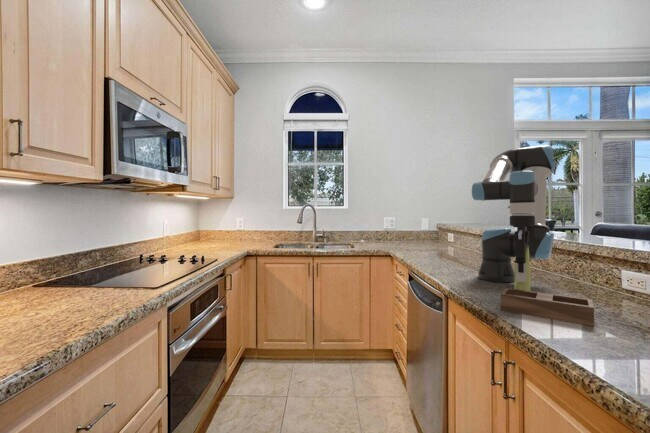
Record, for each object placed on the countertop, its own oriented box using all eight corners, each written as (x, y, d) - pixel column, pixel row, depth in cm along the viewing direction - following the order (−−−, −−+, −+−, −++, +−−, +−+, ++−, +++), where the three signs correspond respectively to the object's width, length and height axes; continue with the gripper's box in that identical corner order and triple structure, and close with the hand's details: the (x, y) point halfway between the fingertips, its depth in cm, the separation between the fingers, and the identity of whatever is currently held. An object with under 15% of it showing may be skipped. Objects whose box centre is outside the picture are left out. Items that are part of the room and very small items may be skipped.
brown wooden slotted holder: (505, 302, 101) (505, 287, 101) (591, 315, 87) (591, 299, 87) (500, 309, 94) (500, 294, 94) (594, 326, 80) (594, 307, 80)
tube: (535, 299, 104) (534, 244, 104) (528, 302, 101) (528, 245, 101) (517, 295, 109) (517, 243, 108) (510, 298, 106) (510, 244, 106)
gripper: (513, 214, 114) (513, 274, 115) (505, 215, 100) (505, 283, 100) (537, 214, 109) (537, 276, 110) (532, 215, 95) (532, 286, 95)
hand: (522, 279), depth 105 cm, fingers closed on tube, 6 cm apart
